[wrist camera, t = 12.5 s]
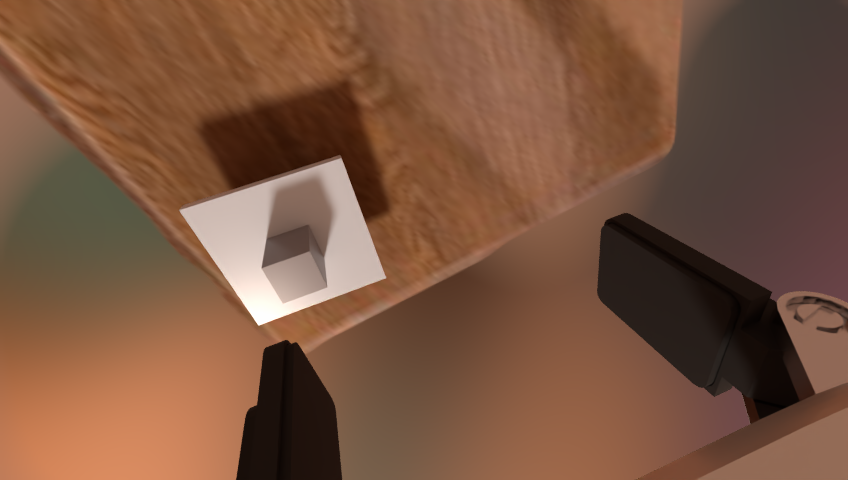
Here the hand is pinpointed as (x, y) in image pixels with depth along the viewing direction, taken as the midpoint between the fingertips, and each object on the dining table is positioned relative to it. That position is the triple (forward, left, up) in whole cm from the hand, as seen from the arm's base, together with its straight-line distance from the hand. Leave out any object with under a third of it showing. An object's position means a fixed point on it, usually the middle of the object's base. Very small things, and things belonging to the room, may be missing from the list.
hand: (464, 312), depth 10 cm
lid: (+9, -9, -25) cm, 28 cm away
